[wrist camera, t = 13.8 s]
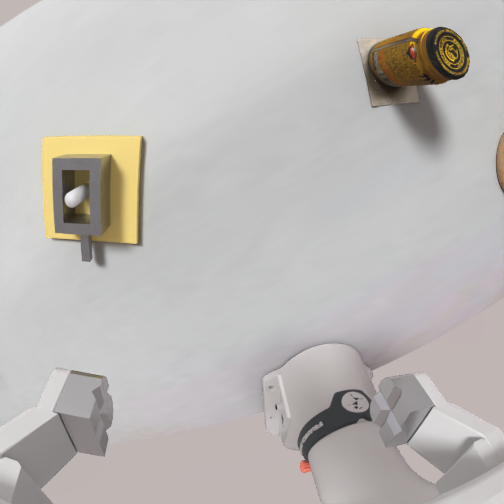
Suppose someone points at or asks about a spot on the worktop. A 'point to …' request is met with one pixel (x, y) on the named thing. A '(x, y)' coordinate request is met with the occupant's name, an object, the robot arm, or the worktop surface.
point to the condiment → (411, 63)
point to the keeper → (121, 183)
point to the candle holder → (500, 161)
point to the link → (98, 191)
